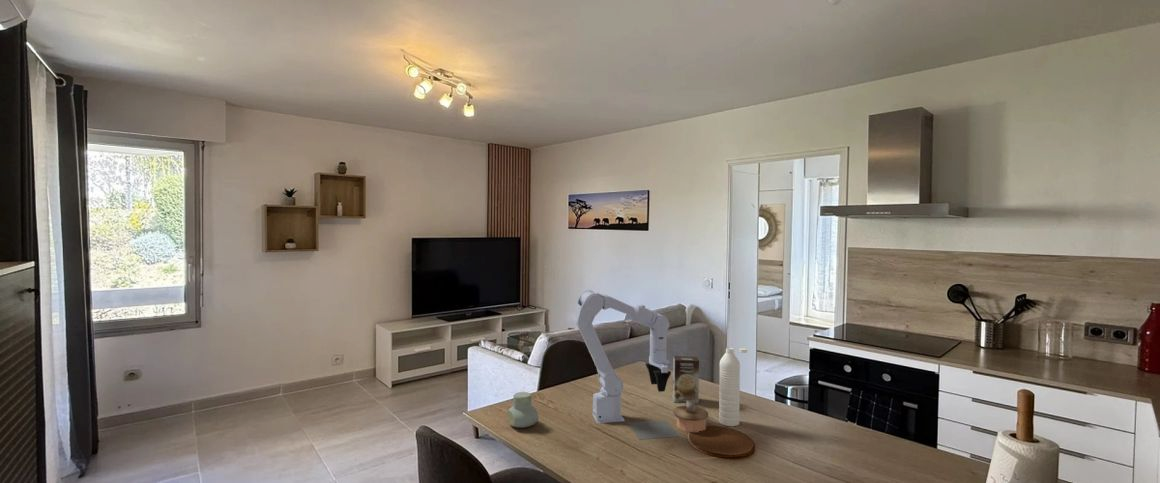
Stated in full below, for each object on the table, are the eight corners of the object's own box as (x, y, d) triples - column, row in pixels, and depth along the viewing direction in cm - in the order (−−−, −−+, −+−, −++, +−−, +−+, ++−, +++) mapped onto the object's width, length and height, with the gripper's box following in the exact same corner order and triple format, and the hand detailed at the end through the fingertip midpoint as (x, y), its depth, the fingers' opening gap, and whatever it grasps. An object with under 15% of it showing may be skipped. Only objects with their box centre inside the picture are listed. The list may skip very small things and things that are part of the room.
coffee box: (673, 403, 179) (674, 360, 178) (672, 397, 185) (672, 355, 185) (699, 403, 178) (699, 360, 177) (696, 397, 184) (696, 356, 184)
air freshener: (505, 421, 162) (505, 391, 162) (528, 416, 166) (528, 387, 165) (516, 433, 152) (516, 401, 152) (540, 428, 156) (540, 397, 156)
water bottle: (719, 425, 158) (719, 349, 157) (718, 418, 164) (719, 345, 164) (747, 428, 156) (748, 351, 155) (745, 420, 162) (746, 346, 162)
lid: (681, 421, 150) (681, 408, 150) (668, 408, 161) (668, 396, 160) (714, 419, 152) (714, 406, 152) (699, 406, 163) (699, 394, 163)
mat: (639, 441, 147) (639, 439, 146) (627, 424, 159) (627, 422, 159) (680, 437, 149) (680, 436, 149) (665, 421, 162) (665, 419, 162)
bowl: (683, 434, 151) (683, 420, 151) (673, 423, 160) (673, 409, 160) (710, 432, 153) (710, 418, 153) (698, 421, 162) (698, 407, 162)
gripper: (676, 353, 160) (676, 394, 161) (662, 343, 175) (661, 380, 175) (656, 354, 159) (655, 395, 160) (643, 343, 174) (643, 381, 174)
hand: (657, 387), depth 167 cm, fingers open, 7 cm apart
